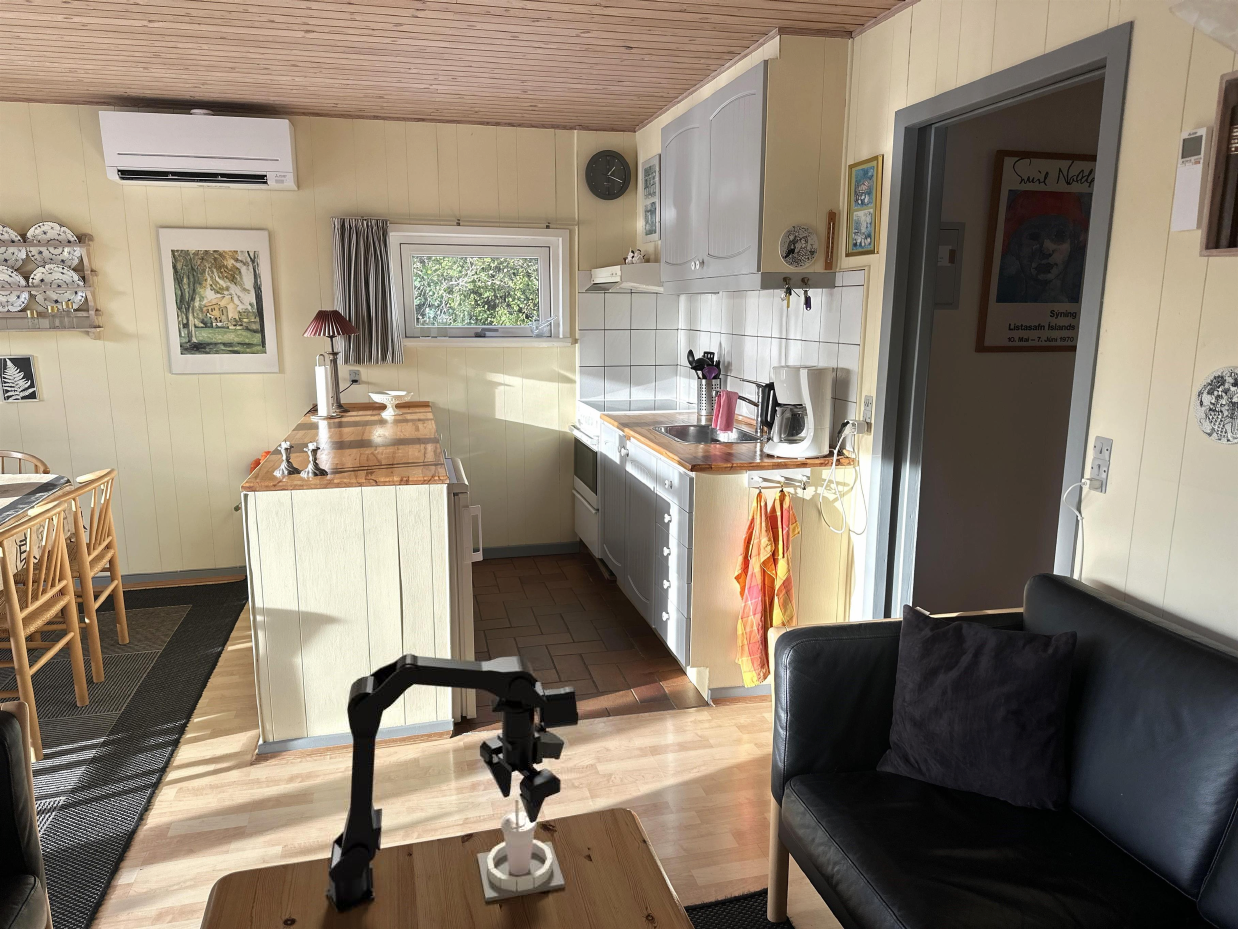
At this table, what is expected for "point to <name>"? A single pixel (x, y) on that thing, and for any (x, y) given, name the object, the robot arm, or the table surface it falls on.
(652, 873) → the table surface
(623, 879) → the table surface
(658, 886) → the table surface
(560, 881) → the socket board
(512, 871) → the smoothie
